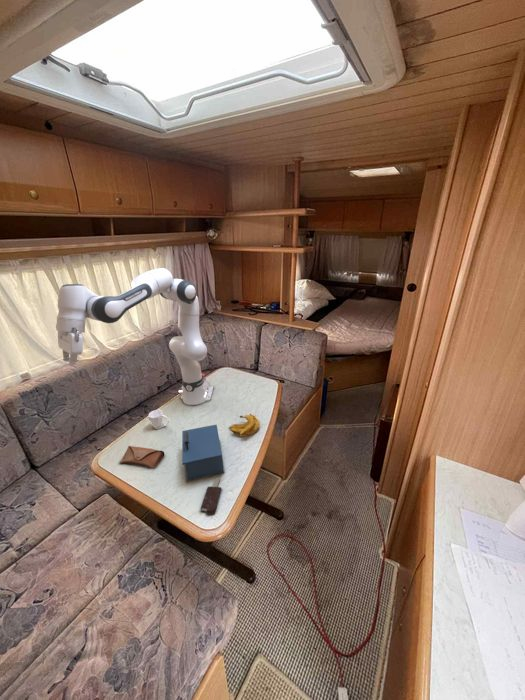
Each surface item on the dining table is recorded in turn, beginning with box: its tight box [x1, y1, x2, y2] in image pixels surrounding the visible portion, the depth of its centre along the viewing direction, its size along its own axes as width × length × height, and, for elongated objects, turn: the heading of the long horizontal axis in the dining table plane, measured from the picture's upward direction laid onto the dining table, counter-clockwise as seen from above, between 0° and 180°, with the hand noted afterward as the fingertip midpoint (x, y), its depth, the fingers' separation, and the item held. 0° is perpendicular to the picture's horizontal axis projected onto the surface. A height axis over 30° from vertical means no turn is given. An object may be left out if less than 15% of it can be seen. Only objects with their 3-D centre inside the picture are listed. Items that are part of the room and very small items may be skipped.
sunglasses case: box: [119, 445, 165, 469], centre depth 122 cm, size 18×7×7 cm, turn 79°
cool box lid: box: [181, 424, 223, 466], centre depth 117 cm, size 16×20×5 cm
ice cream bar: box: [200, 476, 222, 515], centre depth 104 cm, size 5×2×15 cm
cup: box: [147, 409, 170, 430], centre depth 141 cm, size 7×10×8 cm
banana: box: [229, 413, 261, 437], centre depth 139 cm, size 15×19×6 cm
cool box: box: [184, 455, 225, 482], centre depth 120 cm, size 15×20×9 cm
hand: (69, 363), depth 104 cm, fingers open, 8 cm apart
